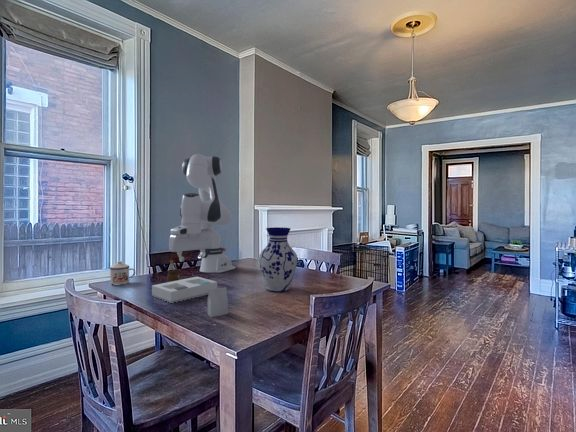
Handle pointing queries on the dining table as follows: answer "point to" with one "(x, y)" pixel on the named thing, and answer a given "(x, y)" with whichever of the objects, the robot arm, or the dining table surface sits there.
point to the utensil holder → (172, 273)
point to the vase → (278, 261)
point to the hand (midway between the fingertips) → (191, 260)
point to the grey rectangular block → (217, 302)
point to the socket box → (183, 289)
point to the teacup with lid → (120, 273)
